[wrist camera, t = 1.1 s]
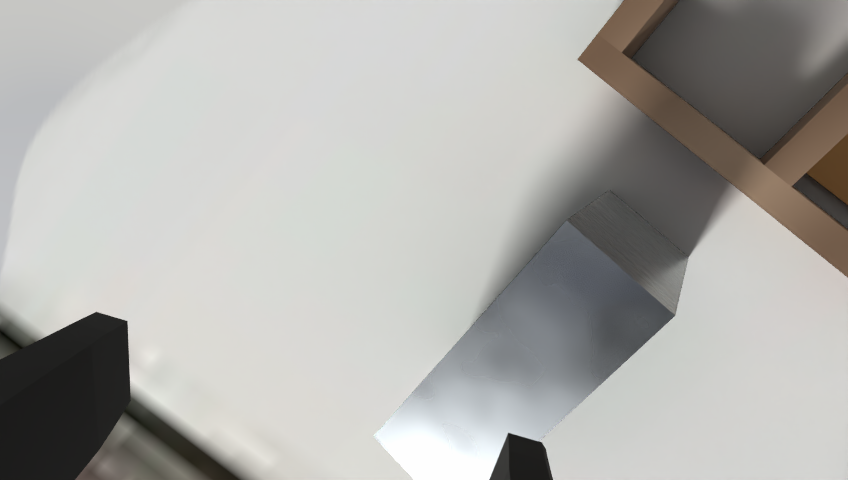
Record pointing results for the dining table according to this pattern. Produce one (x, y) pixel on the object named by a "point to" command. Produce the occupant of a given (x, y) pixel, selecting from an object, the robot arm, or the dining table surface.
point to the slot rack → (757, 178)
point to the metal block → (541, 344)
